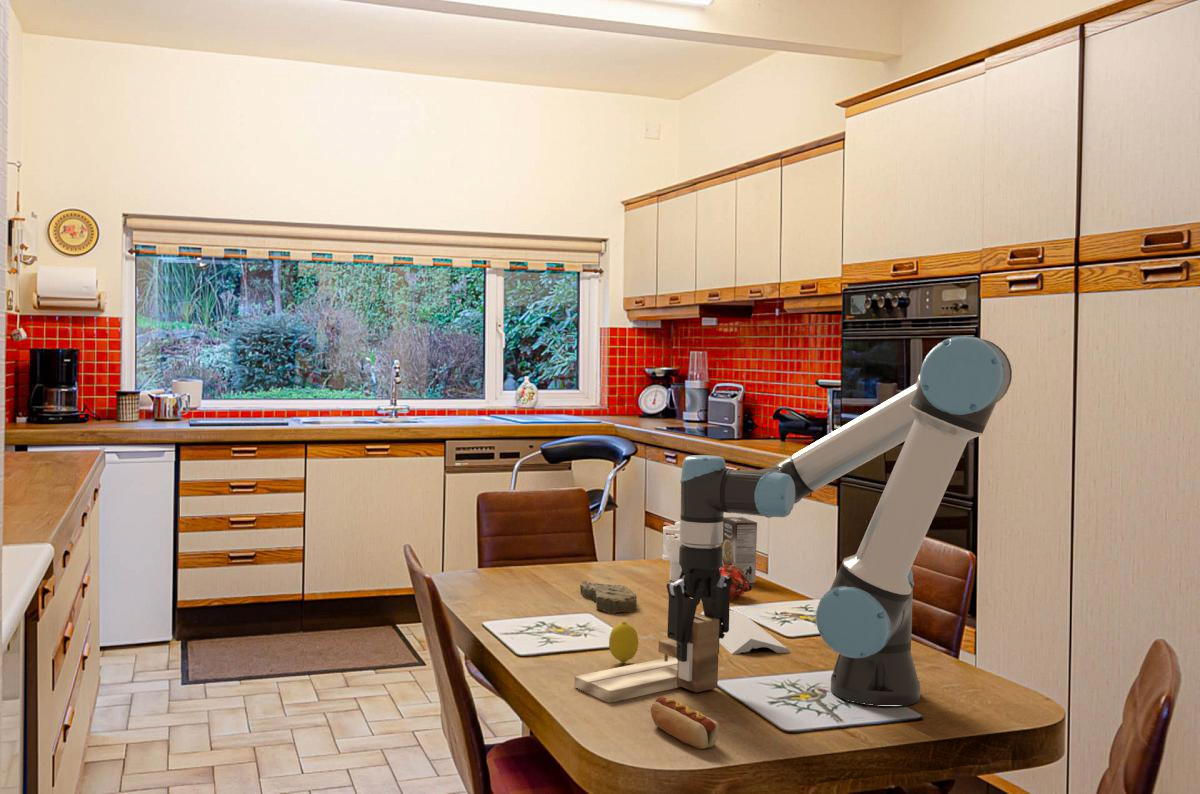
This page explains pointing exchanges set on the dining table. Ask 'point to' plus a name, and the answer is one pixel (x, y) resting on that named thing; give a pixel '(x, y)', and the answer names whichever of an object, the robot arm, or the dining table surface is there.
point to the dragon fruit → (736, 580)
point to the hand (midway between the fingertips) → (697, 676)
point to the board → (630, 680)
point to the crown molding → (747, 636)
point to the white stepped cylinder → (672, 550)
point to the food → (684, 723)
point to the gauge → (699, 654)
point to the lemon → (623, 642)
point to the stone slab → (610, 597)
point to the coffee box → (740, 545)
